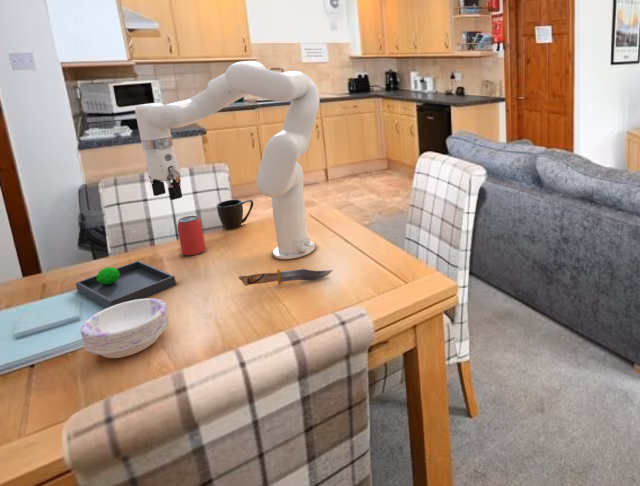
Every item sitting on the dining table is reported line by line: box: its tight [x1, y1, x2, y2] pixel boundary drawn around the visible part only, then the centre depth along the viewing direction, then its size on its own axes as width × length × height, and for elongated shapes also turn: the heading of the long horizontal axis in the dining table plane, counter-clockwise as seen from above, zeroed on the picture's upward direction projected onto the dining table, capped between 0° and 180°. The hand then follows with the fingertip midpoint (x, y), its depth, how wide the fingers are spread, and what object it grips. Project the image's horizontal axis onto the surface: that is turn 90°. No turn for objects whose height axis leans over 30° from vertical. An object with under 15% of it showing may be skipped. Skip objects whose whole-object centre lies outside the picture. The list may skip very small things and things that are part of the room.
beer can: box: [176, 215, 206, 257], centre depth 154 cm, size 7×7×12 cm
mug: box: [216, 199, 254, 230], centre depth 176 cm, size 8×12×10 cm
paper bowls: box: [80, 297, 170, 359], centre depth 106 cm, size 15×15×8 cm
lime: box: [96, 266, 120, 285], centre depth 133 cm, size 5×5×5 cm
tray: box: [75, 260, 177, 309], centre depth 132 cm, size 21×15×3 cm
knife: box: [238, 268, 334, 287], centre depth 132 cm, size 25×1×5 cm, turn 108°
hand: (168, 196), depth 146 cm, fingers open, 9 cm apart
